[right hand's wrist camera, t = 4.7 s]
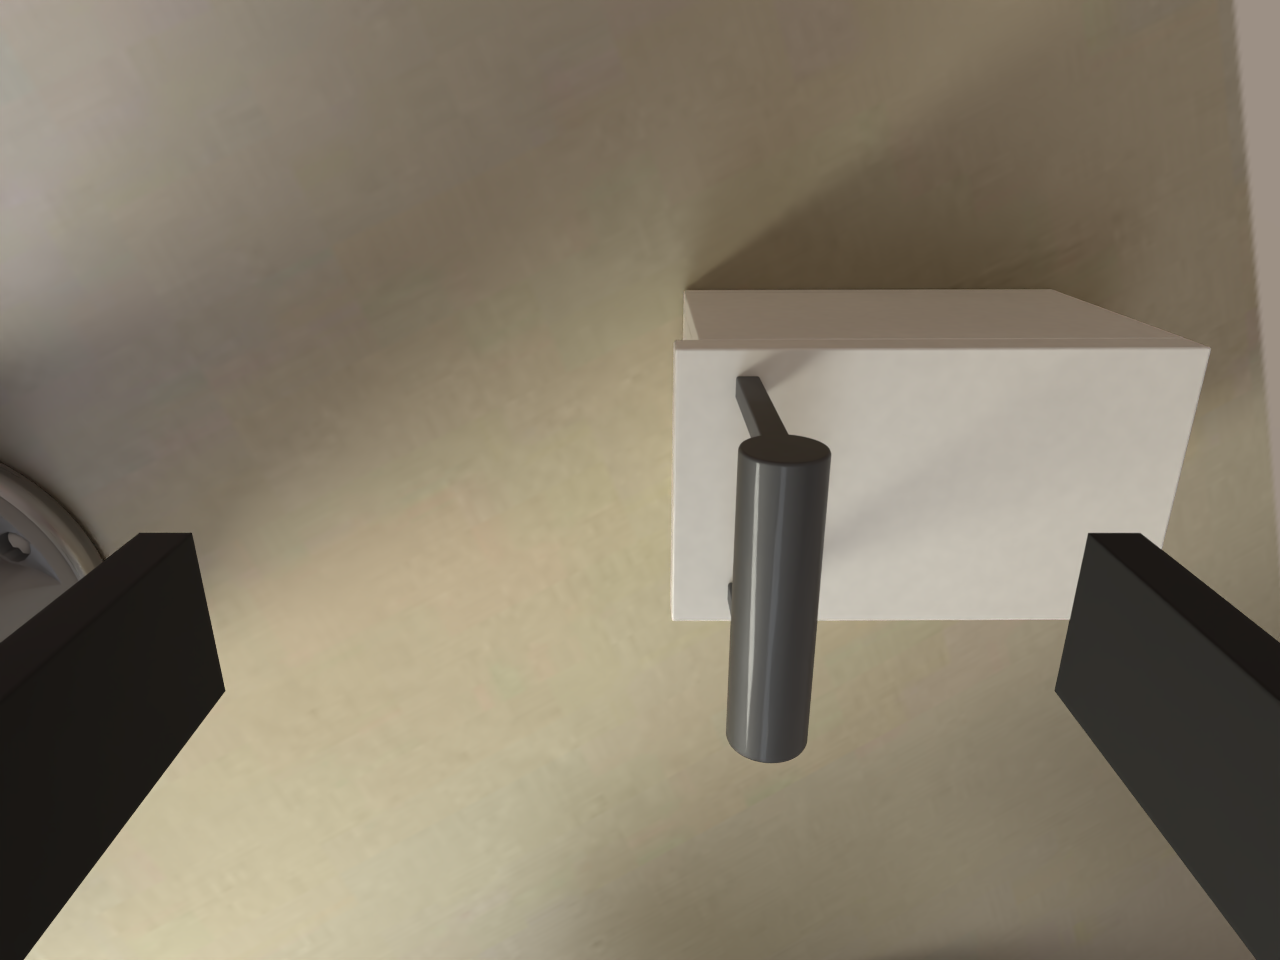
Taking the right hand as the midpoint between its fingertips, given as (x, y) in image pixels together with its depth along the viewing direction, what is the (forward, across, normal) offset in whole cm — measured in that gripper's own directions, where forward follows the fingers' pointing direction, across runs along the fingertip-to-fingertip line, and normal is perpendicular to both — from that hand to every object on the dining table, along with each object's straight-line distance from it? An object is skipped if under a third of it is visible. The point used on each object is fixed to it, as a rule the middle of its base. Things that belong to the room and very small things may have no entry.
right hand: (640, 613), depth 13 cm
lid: (+15, -9, +4) cm, 18 cm away
